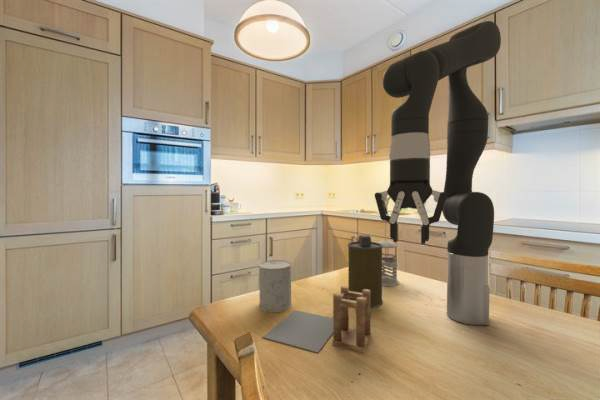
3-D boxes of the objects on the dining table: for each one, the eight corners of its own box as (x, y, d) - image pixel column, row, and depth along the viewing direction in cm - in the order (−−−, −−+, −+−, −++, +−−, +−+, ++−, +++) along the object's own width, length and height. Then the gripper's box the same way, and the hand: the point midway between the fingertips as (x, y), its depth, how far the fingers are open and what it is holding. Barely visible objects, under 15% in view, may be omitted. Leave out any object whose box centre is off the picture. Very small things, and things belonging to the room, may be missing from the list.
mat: (342, 320, 72) (342, 320, 72) (318, 353, 58) (318, 352, 58) (294, 310, 79) (294, 310, 79) (262, 337, 64) (262, 336, 64)
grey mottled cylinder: (296, 301, 85) (296, 262, 85) (282, 314, 76) (281, 270, 76) (270, 297, 89) (269, 259, 89) (252, 308, 80) (252, 266, 80)
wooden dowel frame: (371, 336, 64) (371, 289, 64) (363, 352, 58) (363, 300, 58) (342, 330, 68) (342, 285, 67) (332, 344, 61) (332, 295, 61)
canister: (386, 307, 80) (387, 238, 79) (350, 307, 80) (350, 239, 80) (377, 293, 91) (377, 232, 90) (345, 293, 91) (345, 233, 91)
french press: (404, 286, 98) (404, 215, 97) (371, 286, 98) (371, 215, 97) (394, 277, 108) (394, 213, 107) (364, 277, 107) (364, 213, 107)
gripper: (449, 158, 56) (448, 241, 57) (377, 161, 63) (377, 237, 63) (450, 154, 50) (449, 248, 50) (369, 158, 56) (369, 242, 57)
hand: (409, 241), depth 57 cm, fingers open, 4 cm apart
